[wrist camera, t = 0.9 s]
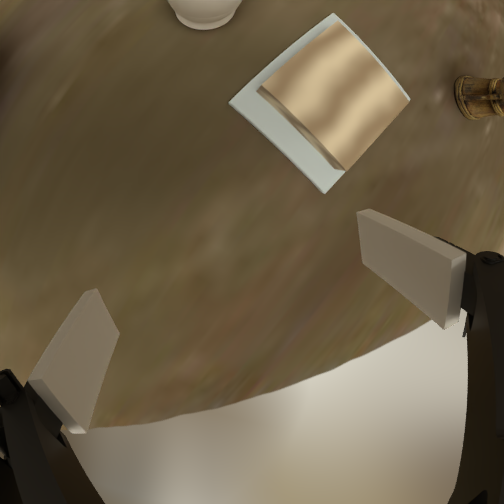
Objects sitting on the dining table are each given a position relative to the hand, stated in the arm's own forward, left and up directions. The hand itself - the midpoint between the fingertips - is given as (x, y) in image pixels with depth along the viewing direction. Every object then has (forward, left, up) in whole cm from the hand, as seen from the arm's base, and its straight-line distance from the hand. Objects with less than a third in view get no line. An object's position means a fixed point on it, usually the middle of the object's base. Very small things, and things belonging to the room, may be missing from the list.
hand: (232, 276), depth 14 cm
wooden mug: (+19, +45, -27) cm, 56 cm away
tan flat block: (+2, +21, -26) cm, 34 cm away
